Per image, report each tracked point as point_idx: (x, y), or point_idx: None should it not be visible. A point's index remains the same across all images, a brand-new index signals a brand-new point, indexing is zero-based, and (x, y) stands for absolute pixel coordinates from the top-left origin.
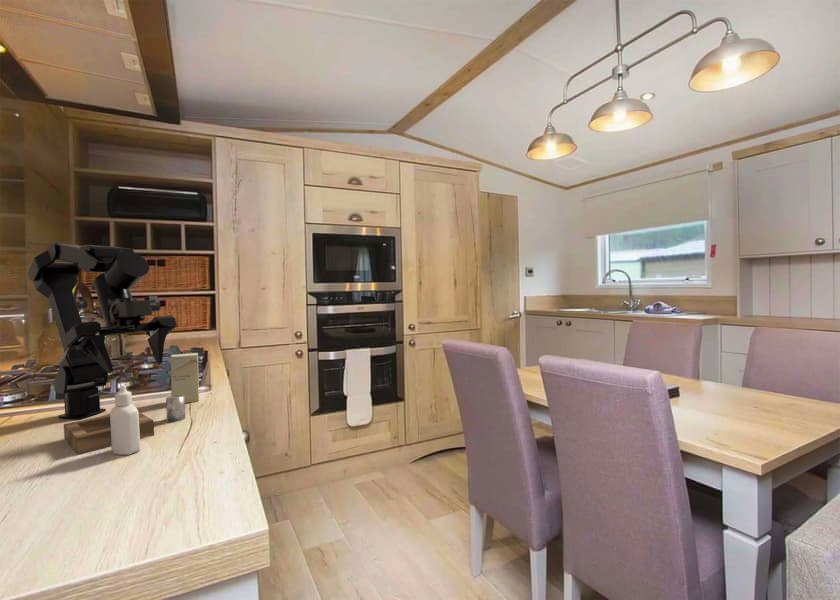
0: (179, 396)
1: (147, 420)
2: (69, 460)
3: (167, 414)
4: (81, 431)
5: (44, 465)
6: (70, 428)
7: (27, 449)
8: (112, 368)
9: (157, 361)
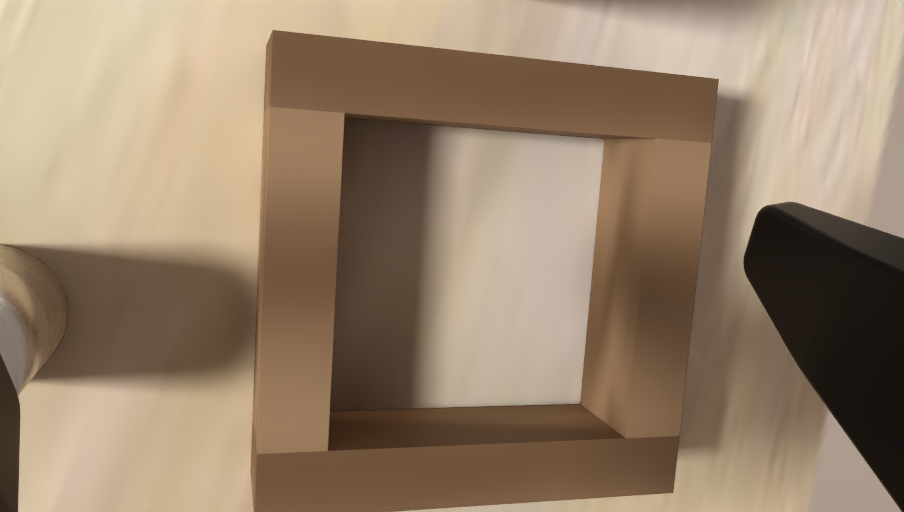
0: None
1: (306, 72)
2: (708, 32)
3: (54, 317)
4: (664, 211)
5: (788, 68)
6: (679, 348)
7: (765, 417)
8: (795, 212)
9: (7, 439)
